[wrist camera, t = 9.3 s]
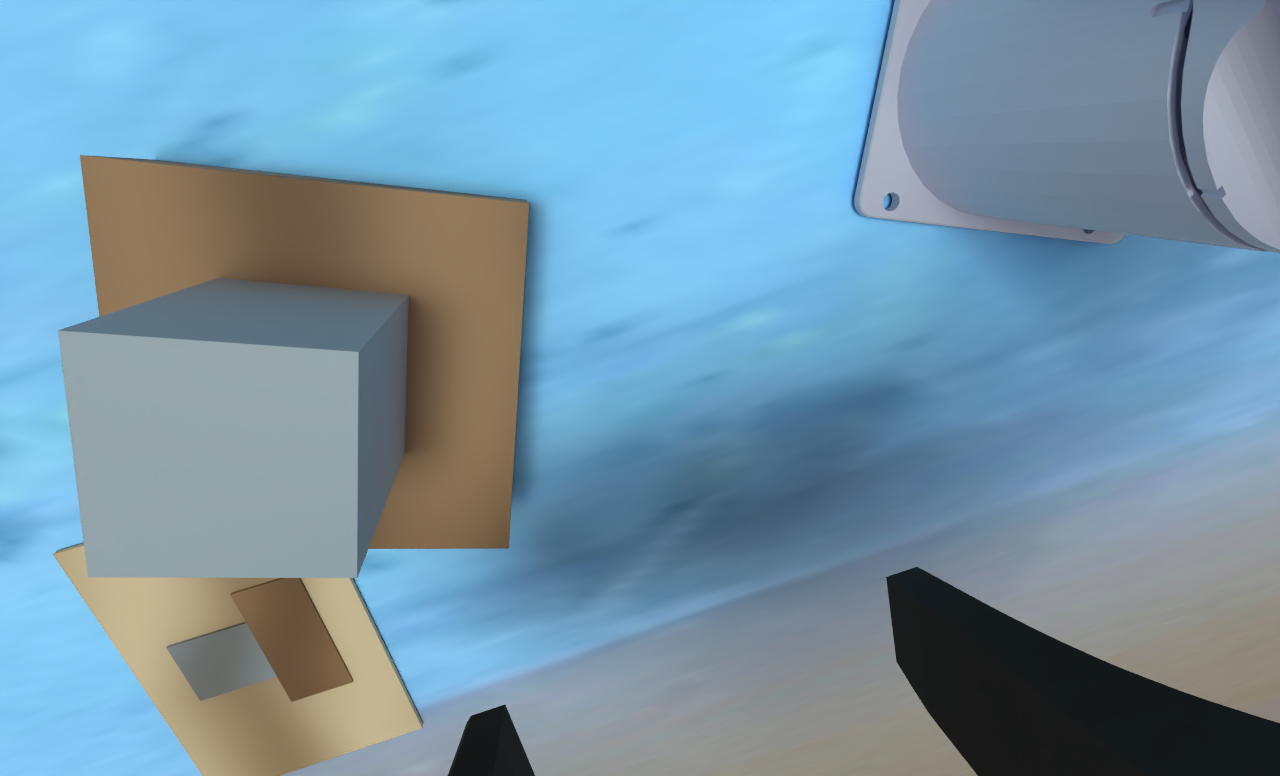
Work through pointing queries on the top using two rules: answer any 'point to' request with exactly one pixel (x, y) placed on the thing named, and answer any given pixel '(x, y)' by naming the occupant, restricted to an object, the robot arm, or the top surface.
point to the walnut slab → (355, 260)
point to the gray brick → (237, 429)
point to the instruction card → (253, 665)
